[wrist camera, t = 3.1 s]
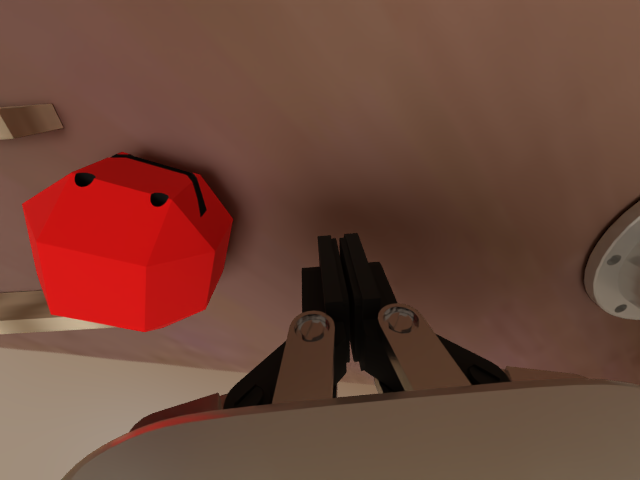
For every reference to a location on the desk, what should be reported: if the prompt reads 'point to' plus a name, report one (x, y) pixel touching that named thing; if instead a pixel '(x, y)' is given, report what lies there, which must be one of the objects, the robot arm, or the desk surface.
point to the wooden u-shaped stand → (31, 306)
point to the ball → (128, 243)
